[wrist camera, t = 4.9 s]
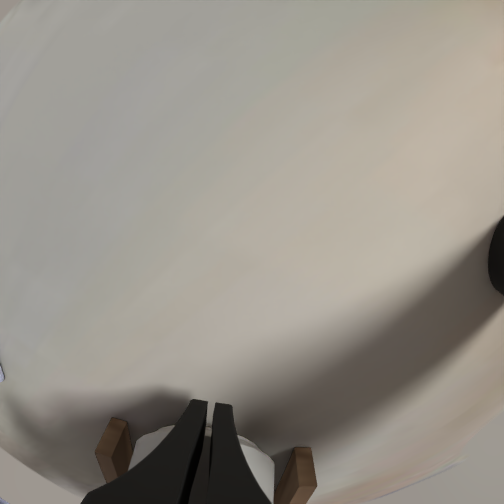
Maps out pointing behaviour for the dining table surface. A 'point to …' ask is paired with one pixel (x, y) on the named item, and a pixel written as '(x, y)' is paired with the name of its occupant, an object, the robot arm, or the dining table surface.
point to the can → (254, 457)
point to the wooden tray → (285, 497)
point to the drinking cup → (497, 258)
